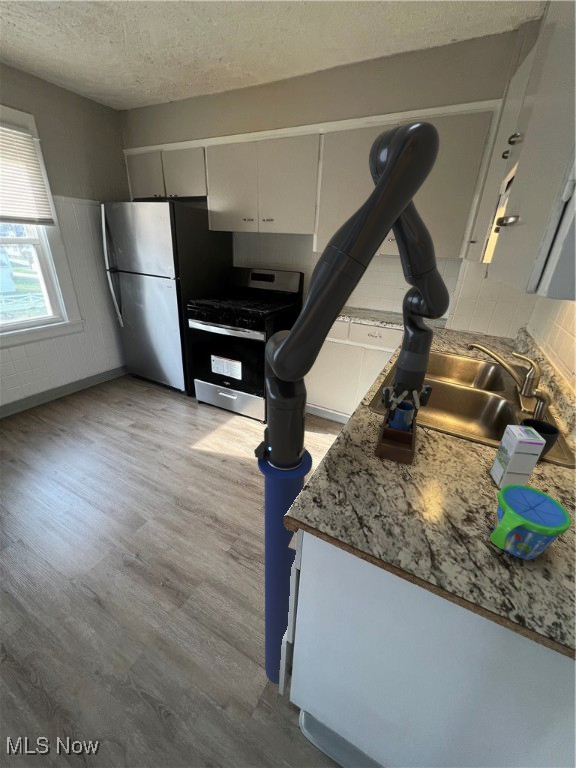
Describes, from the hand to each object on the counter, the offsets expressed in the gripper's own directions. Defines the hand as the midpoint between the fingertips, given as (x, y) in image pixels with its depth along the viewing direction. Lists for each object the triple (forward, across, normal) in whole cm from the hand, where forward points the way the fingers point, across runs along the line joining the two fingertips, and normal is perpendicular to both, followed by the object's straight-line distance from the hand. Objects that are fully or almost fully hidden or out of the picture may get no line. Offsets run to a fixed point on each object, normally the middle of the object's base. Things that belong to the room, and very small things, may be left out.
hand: (400, 418), depth 90 cm
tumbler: (+5, 0, 0) cm, 5 cm away
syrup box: (+6, -17, +22) cm, 28 cm away
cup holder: (+6, +2, +4) cm, 7 cm away
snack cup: (+6, -6, +37) cm, 38 cm away
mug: (+6, -30, +13) cm, 33 cm away
